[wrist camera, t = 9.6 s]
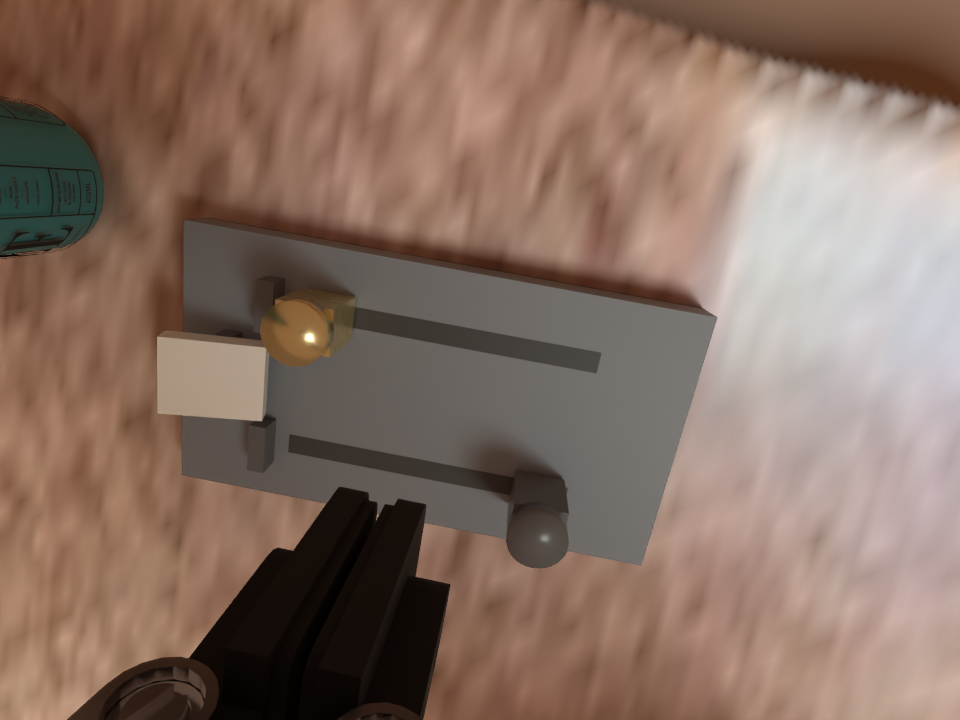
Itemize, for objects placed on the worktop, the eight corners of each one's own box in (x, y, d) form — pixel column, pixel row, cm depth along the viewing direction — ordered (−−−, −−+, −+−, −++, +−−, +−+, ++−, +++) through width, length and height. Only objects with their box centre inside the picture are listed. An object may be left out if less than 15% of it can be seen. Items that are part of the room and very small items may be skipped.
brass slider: (359, 291, 25) (328, 308, 21) (353, 345, 25) (322, 372, 22) (302, 280, 25) (261, 295, 21) (298, 335, 25) (258, 360, 22)
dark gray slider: (567, 474, 26) (574, 521, 23) (556, 520, 27) (561, 573, 23) (514, 464, 26) (512, 509, 23) (504, 510, 27) (501, 561, 23)
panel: (703, 308, 26) (726, 323, 23) (633, 541, 30) (646, 581, 27) (208, 218, 26) (166, 220, 23) (203, 457, 30) (167, 486, 27)
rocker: (270, 341, 25) (265, 347, 24) (265, 412, 26) (262, 421, 25) (165, 329, 24) (156, 336, 23) (165, 404, 25) (157, 413, 24)
